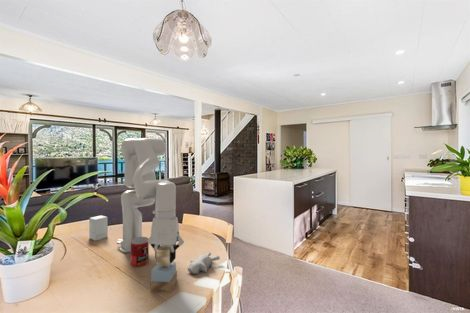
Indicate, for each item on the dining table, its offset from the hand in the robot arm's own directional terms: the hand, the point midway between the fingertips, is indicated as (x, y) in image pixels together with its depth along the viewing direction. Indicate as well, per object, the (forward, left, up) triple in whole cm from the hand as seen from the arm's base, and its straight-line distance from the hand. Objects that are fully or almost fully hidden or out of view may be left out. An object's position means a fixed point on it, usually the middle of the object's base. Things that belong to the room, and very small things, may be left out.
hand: (165, 259), depth 88 cm
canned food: (-20, +16, -10) cm, 28 cm away
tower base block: (0, 0, -10) cm, 10 cm away
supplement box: (-62, +42, -10) cm, 75 cm away
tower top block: (0, 0, -6) cm, 6 cm away
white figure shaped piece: (+11, +16, -11) cm, 22 cm away
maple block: (0, 0, -1) cm, 1 cm away
